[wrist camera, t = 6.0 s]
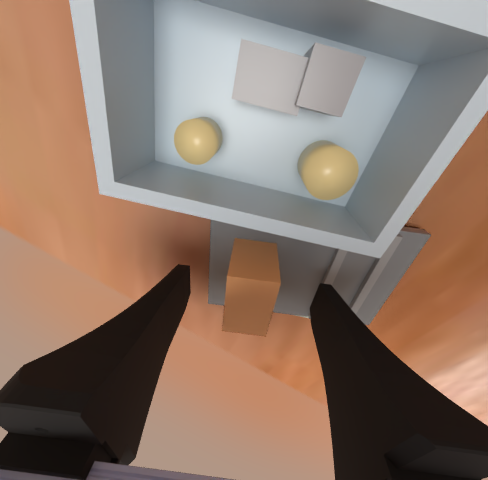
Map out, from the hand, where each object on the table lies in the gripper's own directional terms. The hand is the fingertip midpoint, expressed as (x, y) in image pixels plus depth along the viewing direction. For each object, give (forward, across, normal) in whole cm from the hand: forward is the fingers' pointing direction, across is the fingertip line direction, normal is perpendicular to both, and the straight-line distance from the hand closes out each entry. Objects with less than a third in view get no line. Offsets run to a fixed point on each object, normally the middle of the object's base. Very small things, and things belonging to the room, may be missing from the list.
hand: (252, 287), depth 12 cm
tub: (+2, 0, -8) cm, 8 cm away
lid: (+2, -3, 0) cm, 4 cm away
